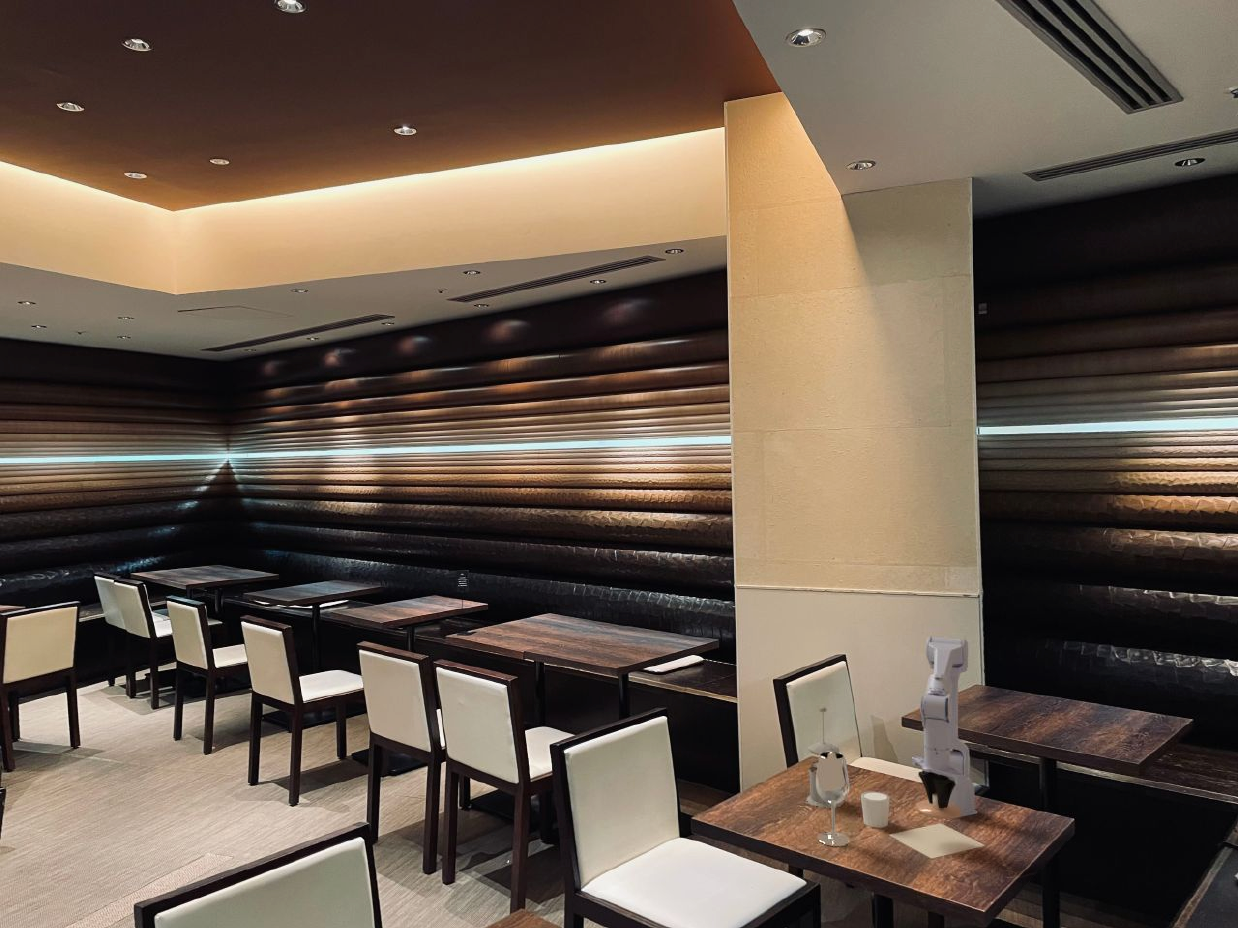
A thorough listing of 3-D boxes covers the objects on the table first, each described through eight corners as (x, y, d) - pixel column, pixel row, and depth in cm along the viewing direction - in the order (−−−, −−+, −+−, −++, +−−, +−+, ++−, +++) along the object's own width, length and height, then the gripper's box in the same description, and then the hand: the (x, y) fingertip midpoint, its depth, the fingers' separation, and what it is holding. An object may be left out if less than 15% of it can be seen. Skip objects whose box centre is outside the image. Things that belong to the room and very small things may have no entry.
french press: (798, 797, 227) (796, 704, 227) (833, 790, 231) (831, 699, 232) (821, 810, 218) (819, 713, 218) (857, 802, 222) (855, 707, 223)
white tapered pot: (891, 830, 204) (891, 801, 204) (862, 828, 206) (861, 800, 206) (888, 819, 211) (888, 791, 211) (860, 817, 212) (859, 790, 213)
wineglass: (832, 849, 194) (830, 762, 195) (810, 837, 201) (808, 753, 202) (857, 842, 198) (855, 756, 198) (835, 830, 205) (833, 747, 205)
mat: (940, 824, 207) (940, 823, 207) (985, 846, 194) (985, 845, 194) (888, 836, 201) (888, 834, 201) (931, 860, 188) (931, 858, 188)
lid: (939, 799, 204) (938, 784, 204) (971, 814, 194) (970, 798, 194) (906, 806, 200) (906, 791, 200) (937, 821, 190) (937, 805, 191)
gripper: (901, 740, 202) (903, 797, 202) (946, 758, 189) (948, 819, 189) (924, 736, 205) (926, 792, 205) (970, 753, 192) (972, 813, 192)
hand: (938, 805), depth 197 cm, fingers closed on lid, 2 cm apart
